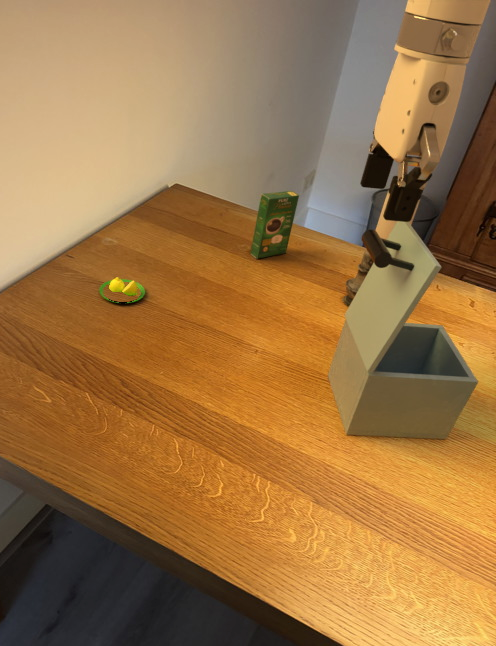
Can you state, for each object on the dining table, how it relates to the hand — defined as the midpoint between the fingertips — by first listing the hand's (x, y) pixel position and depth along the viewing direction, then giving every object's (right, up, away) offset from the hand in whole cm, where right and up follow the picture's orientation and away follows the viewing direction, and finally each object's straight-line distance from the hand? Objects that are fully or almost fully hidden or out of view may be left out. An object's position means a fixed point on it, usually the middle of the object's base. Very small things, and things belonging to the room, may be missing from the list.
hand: (383, 202), depth 66 cm
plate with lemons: (-37, -7, +31) cm, 49 cm away
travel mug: (+14, +1, +49) cm, 51 cm away
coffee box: (-9, +4, +50) cm, 51 cm away
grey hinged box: (+5, -26, +16) cm, 30 cm away
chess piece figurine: (+6, -7, +38) cm, 40 cm away
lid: (+2, -11, +3) cm, 11 cm away
